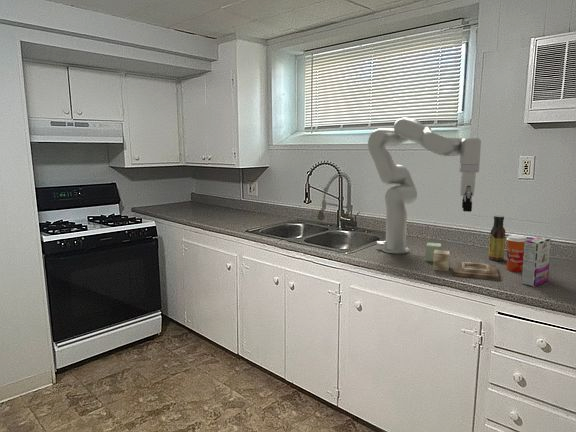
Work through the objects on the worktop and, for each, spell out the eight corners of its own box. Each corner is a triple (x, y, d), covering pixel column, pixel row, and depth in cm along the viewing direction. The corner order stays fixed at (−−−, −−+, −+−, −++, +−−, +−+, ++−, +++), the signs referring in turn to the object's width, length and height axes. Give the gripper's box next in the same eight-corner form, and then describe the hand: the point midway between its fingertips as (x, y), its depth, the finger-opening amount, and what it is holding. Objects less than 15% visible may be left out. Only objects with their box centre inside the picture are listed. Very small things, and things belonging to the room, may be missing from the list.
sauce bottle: (490, 256, 191) (493, 214, 188) (505, 259, 187) (508, 215, 184) (486, 259, 186) (489, 216, 183) (501, 262, 182) (505, 217, 179)
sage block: (425, 260, 186) (426, 245, 185) (426, 257, 191) (427, 242, 190) (439, 262, 183) (440, 246, 182) (440, 258, 189) (441, 243, 188)
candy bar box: (534, 278, 160) (537, 236, 158) (548, 281, 156) (552, 238, 154) (519, 283, 154) (523, 240, 151) (534, 287, 150) (538, 242, 147)
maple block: (432, 269, 172) (433, 253, 171) (433, 265, 178) (434, 249, 177) (448, 271, 170) (449, 254, 169) (448, 267, 176) (449, 251, 174)
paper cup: (501, 270, 171) (503, 236, 168) (507, 266, 176) (510, 233, 174) (522, 274, 165) (525, 239, 163) (528, 270, 170) (531, 236, 168)
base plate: (453, 275, 164) (453, 269, 163) (454, 265, 178) (454, 259, 178) (498, 280, 158) (499, 273, 157) (495, 268, 172) (496, 263, 172)
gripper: (458, 167, 181) (456, 206, 184) (460, 169, 165) (457, 212, 168) (477, 167, 178) (474, 207, 181) (481, 169, 162) (478, 213, 165)
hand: (466, 209), depth 174 cm, fingers open, 9 cm apart
